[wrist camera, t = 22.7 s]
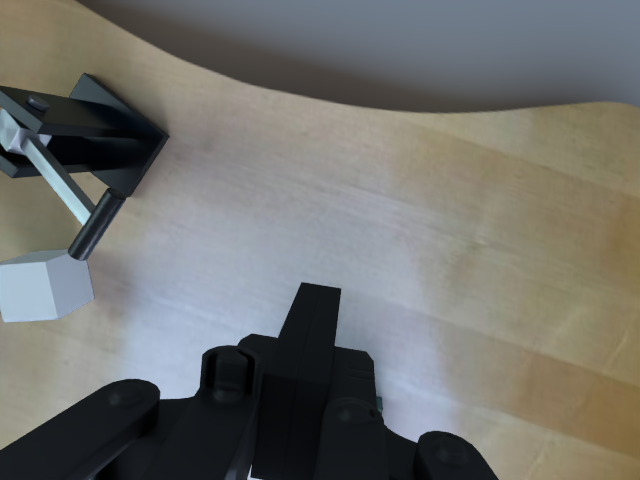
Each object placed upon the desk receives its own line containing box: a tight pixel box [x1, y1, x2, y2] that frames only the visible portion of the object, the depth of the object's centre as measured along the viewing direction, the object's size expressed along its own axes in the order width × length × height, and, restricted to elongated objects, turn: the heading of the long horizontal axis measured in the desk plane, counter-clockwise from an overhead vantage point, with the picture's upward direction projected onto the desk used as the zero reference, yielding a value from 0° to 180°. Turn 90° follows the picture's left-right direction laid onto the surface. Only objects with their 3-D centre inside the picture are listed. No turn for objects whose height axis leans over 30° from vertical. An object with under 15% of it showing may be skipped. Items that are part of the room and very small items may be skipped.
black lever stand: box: [0, 73, 170, 198], centre depth 37 cm, size 10×8×14 cm
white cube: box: [0, 249, 94, 322], centre depth 45 cm, size 6×6×6 cm
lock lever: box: [0, 108, 126, 261], centre depth 31 cm, size 13×6×2 cm, turn 52°
